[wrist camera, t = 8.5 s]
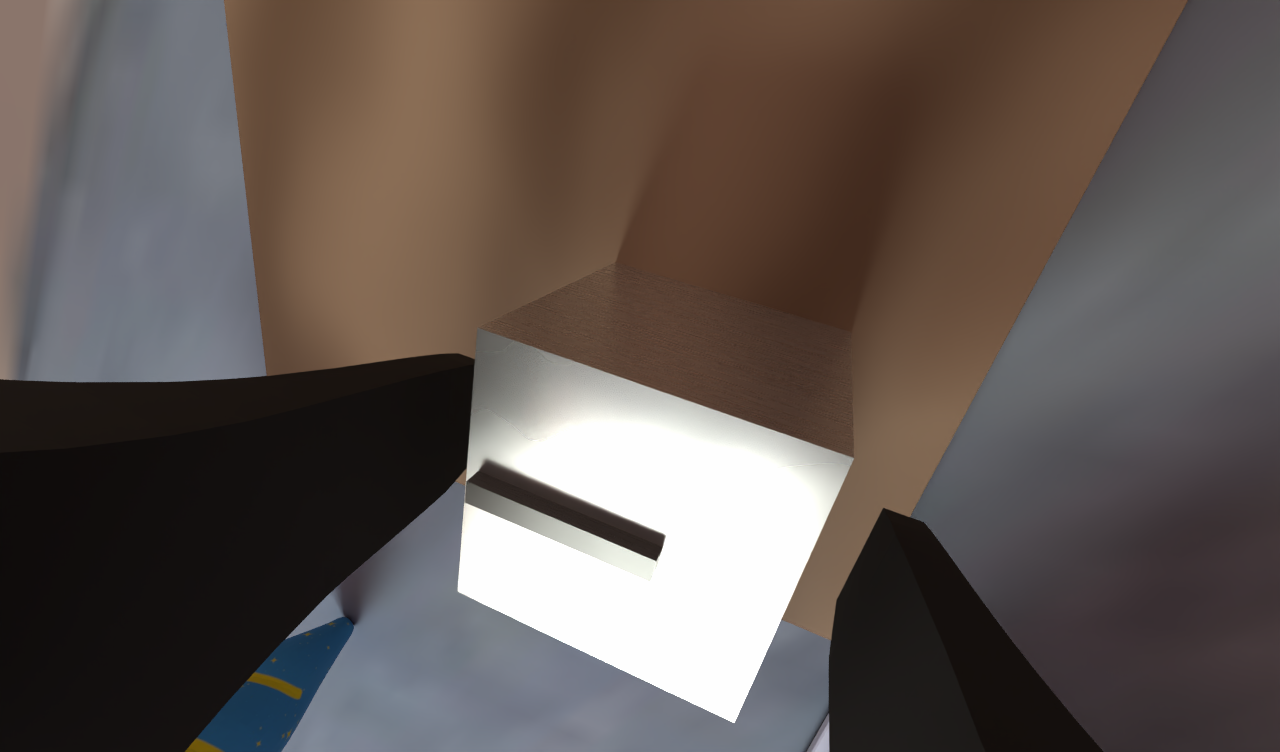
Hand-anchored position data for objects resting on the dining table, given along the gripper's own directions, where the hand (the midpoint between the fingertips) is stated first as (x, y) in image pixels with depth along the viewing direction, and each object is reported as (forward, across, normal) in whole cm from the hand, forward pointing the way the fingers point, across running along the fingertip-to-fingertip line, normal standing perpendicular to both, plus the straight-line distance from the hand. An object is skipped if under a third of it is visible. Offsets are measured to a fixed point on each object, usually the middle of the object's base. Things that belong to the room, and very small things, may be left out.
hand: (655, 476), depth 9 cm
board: (+5, +4, -3) cm, 7 cm away
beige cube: (+3, 0, 0) cm, 3 cm away
